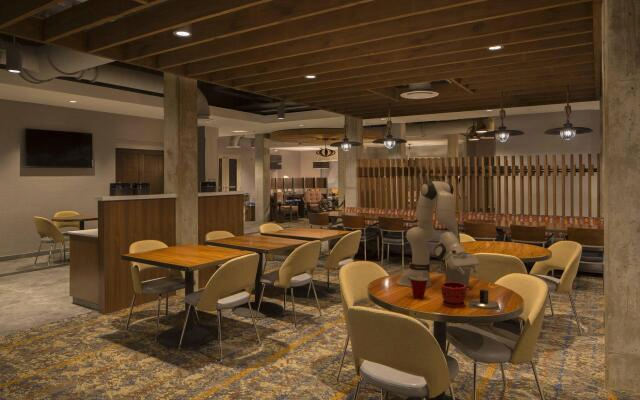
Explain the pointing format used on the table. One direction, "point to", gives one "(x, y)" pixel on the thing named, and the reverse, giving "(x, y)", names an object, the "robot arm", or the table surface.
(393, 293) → the table surface
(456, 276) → the jar
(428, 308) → the table surface
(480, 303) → the lid
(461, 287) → the plant pot
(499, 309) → the mat
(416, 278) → the plastic cup
